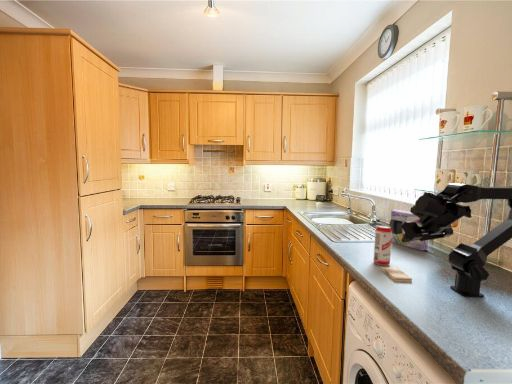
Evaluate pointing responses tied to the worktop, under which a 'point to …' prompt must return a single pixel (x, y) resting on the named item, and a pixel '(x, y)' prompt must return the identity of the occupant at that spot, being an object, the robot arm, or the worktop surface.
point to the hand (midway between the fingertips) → (411, 240)
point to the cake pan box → (398, 232)
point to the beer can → (382, 245)
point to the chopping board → (396, 274)
